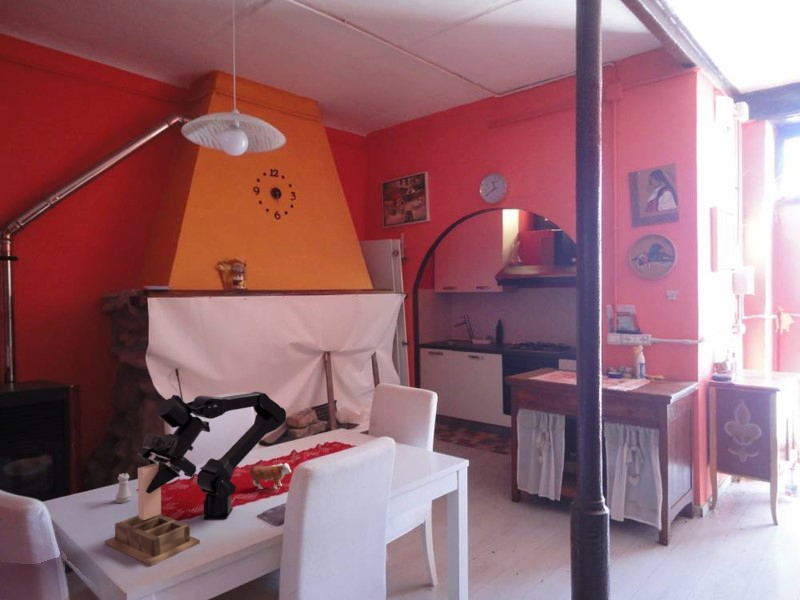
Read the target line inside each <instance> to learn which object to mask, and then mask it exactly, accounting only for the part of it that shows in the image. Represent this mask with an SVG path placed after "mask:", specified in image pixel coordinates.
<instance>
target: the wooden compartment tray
mask: <svg viewBox="0 0 800 600" xmlns="http://www.w3.org/2000/svg"><path fill="white" fill-rule="evenodd" d="M190 533H191V532H190V524H187V523H184V522H181V521H179V520H176V519H174V518H172V517H168V516H165V515H163V514H162V513H161V514H159V515H157V516H154V517H151V518H149V519H146V520H142V519H140V518H139V514H137V515H135V516H132V517H129V518H127V519H125V520H122V521H119V522H116V523H114V536H113V537H111V538H109V539H106V540H104V545H106V546H109V547H110V548H113V549H115V550H117V551H118V552H121V551H122V552H121V553H123V552H124V553H123V554H125V553H126V554H125V555H127V554H128V555H127V556H129V555H130V557H131V558H134V559H136V560H138V559H139V561H141V562H142V561H143V563H145V564H146V563H147V565H149V566H151V567H152V566H154V565H156V564H158V563H160V562H163V561H164V560H167V559H170V558H172V557H173V556H175V555H178V554H180V553H182V552H185V551H186V550H188V549H191V548H193V547H194V546H197V545H199V544H200V543H201V540H200V539H198V538H196V537H194V536H190Z"/></svg>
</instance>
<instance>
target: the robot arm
mask: <svg viewBox="0 0 800 600" xmlns="http://www.w3.org/2000/svg"><path fill="white" fill-rule="evenodd" d="M252 407H253V411H254V413H256V415H255V418H254V422H253V424H252V425H251V427H249V428H248V429H247V430H246V431H245V432H244V434H243V435H242V436H241V437H240V438H239V439H237V441H236V442H235V443H234V444H233V445H232V446H231V447H230V448H229V449H228V450H227V451H226V452H225V453H224V454H223V455H222V457H221V458H218V459H215V458H212V457H211V458H210V459H208V460H207V462H206V463H205V464H204V465H203V466H201V467H200V468H199V469H200V471H199V472H198V473H197V475H196V477H197V478H196V484H197V487H199V489H200V491H201V493H203V494H204V493H205V498H204V500H203V515H204V516H203V519H204V520H226V519H228V517H229V516H230V515H231V513H232V512H233V511H234V510H233V507H232V495H234V494H235V492H236V488H237V486H236V484H234V483H233V482H232V481H231V480H232V478H233V474H234V470H235V469H236V467H238V466H239V464H240V463H241V462H242V461H243V460H244V459H245V458H246V456H248V455H249V453H250V452H251V451H252V450H253V449H254V448H255V447H256V446H257V444H258V443H259V442H261V440H262V439H263V438H264V437H265V436H266V435H267V434H269V433H271V432H274V431H276V430H278V429H279V428H280V427H282V425H283V424H284V423H285V422H286V420H287V412H286V409H285V408H284V407H282V406H281V405H279V404H278V403H277V402H276V401H274V400H273V399H271V398H270V396H268V394H267V393H265V392H261V391H252V392H248V393H240V394H234V395H227V396H212V395H211V396H210V395H197V396H196V397H195V398H194V399H193V400H192V401H189V402H185V401H184V400H183V398H182V397H180V396H179V395H178V394H173V395H172V396H171V397H170V398H167V399H166V400H164V401H162V403H160V404H159V405H158V406H157V408H156V411H155V414H156V416H157V417H159V418H160V420H162V421H164V422H165V423H166V424H167V425H168V426H170V427H171V428H173V429H174V428H175V430H174V432H173V433H163V434H162V435H161V436H159V435H157V434H156V435H155V434H151V433H146V435H145V439H144V441H143V443H142V446H141V448H140V449H139V450H138V451H137V452H136V453H137V455H138V456H140V457H141V458H143V460H144V461H146V466H147V465H151V464H154V463H156V464H159V470H158V472H157V474H156V475H155V477H154V478H153V480H152V482H151V483H150V485H149V487H148V488H147V490H146V492H147V493H149V494H150V493H151V492H153V491H155V490H156V489H158V488H159V487H161V488H162V487H163V486H164V485H165V484H168V483H169V482H171V481H172V480H174V479H176V478H180V477H181V474H180V472H183V473H184V474H183V475H184V476H186V477H189V478H193V477H194V475H195V474H196V472H197V466H196V464H194V463H193V462H192V461H190V460H189V459H188V458H186V457H185V455H186V454H187V453H188V451H189V452H190V451H191V452H192V451H193V450H194V446H193V444H194V443H195V441H196V440H197V438H198V437H199V435H201V433H202V432H205V433H210V432H211V427H210V422H209V421H206V420H205V421H203V420H202V419H201V418H204V419H210V420H211V419H215V418H218V417H220V416H223V415H224V414H225V413H228V412H230V411H236V410H241V409H247V408H252ZM192 414H193V415H192Z"/></svg>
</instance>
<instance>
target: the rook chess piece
mask: <svg viewBox="0 0 800 600" xmlns="http://www.w3.org/2000/svg"><path fill="white" fill-rule="evenodd" d="M129 478H130V475H129V473H127V472H126V473H119V474H118V477H117V480H118V490H117V491H118V492H117V494H116V496H115V502H116V503H118V504H125V503H128V502H130V501H131V500H132V498H133V497H132V492H131V491H130V489H129V482H130V481H129Z"/></svg>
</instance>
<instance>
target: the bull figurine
mask: <svg viewBox="0 0 800 600" xmlns="http://www.w3.org/2000/svg"><path fill="white" fill-rule="evenodd" d="M249 474H250V477H251V480H252V484H253V486H255V487H256V486H258V487H257V488H258V490H260V489H263V490H264V487H263V486H261V483H260V482H261V479H262V480H263V481H264V482H265V483H267V482H268V481H270V480H273V483H274V485H273V489H274V490H278V487H280V486H282V485H283V484H282V483H281V481H282V480H283V478H285V476H286V475H289V474H292V470H291V467H290V463H286V462H285V463H278V464H273V465H269V466H268V465H267V466H266V465H265V466H262V465H261V466H260V465H259V466H254V465H253V466H252V467H251V468H250V470H249ZM277 484H278V487H277ZM282 487H283V486H282Z"/></svg>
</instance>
